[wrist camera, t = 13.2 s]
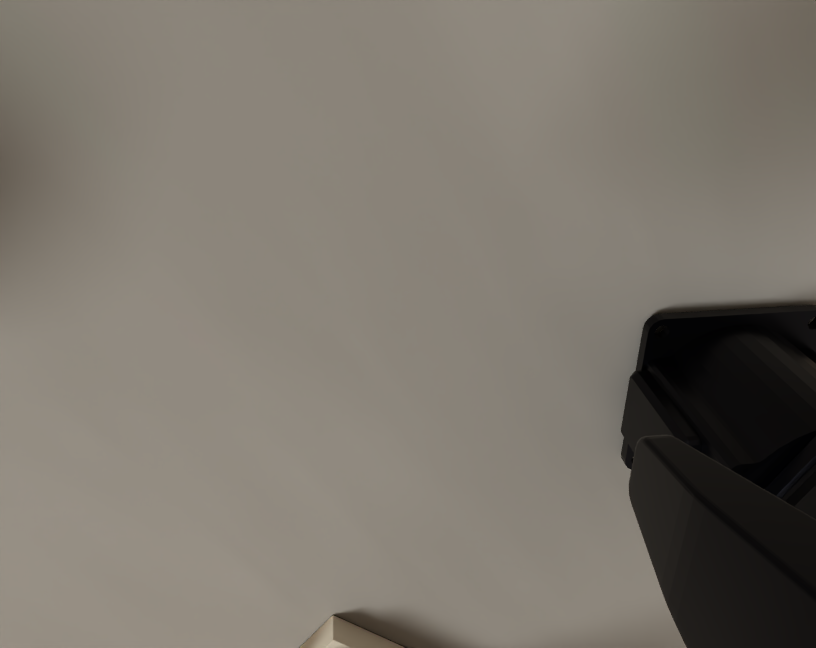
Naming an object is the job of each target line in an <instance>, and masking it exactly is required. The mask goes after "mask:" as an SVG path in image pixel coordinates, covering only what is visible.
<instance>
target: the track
mask: <svg viewBox="0 0 816 648" xmlns="http://www.w3.org/2000/svg"><path fill="white" fill-rule="evenodd" d="M300 648H405V647H403V646H400V645H398V644H396V643H394V642H392V641H389V640H387V639H385V638H383V637H380V636H378V635H376V634H374V633H372V632H369V631H367V630H365V629H363V628H360V627H358V626H356V625H354V624H352V623H349V622H347V621H345V620H343V619H340V618H338V617H336V616H334V615H333V616H332V617H331V618H329V619H328V620H327V621H326V622H325V623H324V624H323V625H322V626H321V627H320V628H319V629H318V630H317V631H316V632H315V633H314V634H313V635H312V636H311V637H310V638H309V639H308V640H307V641H306V642H305V643H304V644H303V645H302V646H301V647H300Z"/></svg>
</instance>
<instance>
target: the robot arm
mask: <svg viewBox="0 0 816 648" xmlns="http://www.w3.org/2000/svg"><path fill="white" fill-rule="evenodd" d="M813 317H815V318H814V320H813V321H812V322H810V323H809V321H810V320H811V319H812V318H813ZM663 325H664V328H663V330H662V331H661V332H659V333H655V331H656V329H657V328H659V327H660V326H663ZM621 433H622V435H623V436H624V440H623V446H622V452H621V458H622V460H623V461H624V463H625V465H626V466H627V468H629V469H631V475H630V480H629V496H630V500H631V504H632V507H633V510H634V512H635V515H636V518H637V521H638V524H639V527H640V530H641V533H642V536H643V538H644V541H645V544H646V547H647V550H648V553H649V556H650V559H651V561H652V564H653V567H654V570H655V573H656V576H657V579H658V582H659V585H660V587H661V590H662V593H663V595H664V598H665V601H666V603H667V606H668V608H669V610H670V613H671V615H672V617H673V619H674V622H675V624H676V626H677V628H678V630H679V632H680V634H681V636H682V638H683V641H684V643H685V645H686V647H687V648H816V305H802V306H785V307H768V308H751V309H733V310H716V311H699V312H681V313H664V314H656V315H653V316H652V317H650V318H649V319H648V320H647V321H646V322H645V324H644V327H643V332H642V337H641V343H640V349H639V355H638V360H637V366H636V371H635V372H634V373H633V374H632V375H631V377H630V380H629V386H628V392H627V398H626V403H625V409H624V415H623V421H622V427H621ZM633 457H634V458H633Z"/></svg>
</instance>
